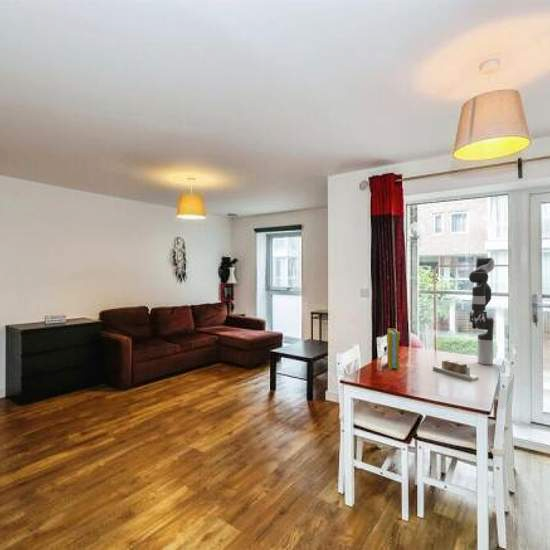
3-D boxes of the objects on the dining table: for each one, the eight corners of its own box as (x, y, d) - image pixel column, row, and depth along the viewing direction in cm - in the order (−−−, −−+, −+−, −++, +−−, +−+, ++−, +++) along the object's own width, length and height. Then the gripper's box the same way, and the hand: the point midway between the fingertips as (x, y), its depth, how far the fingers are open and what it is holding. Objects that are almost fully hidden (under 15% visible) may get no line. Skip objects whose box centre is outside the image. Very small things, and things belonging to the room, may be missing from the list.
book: (399, 369, 234) (399, 333, 233) (389, 369, 235) (389, 332, 235) (396, 362, 251) (396, 328, 250) (386, 362, 252) (386, 328, 251)
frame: (444, 370, 228) (444, 360, 228) (449, 368, 230) (449, 359, 230) (461, 375, 217) (462, 365, 217) (466, 373, 220) (466, 364, 220)
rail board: (440, 368, 237) (440, 358, 237) (478, 378, 214) (478, 368, 214) (432, 370, 233) (433, 360, 233) (470, 381, 210) (470, 370, 210)
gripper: (477, 304, 216) (477, 330, 217) (491, 302, 223) (490, 327, 224) (466, 303, 223) (465, 328, 224) (479, 301, 230) (479, 326, 230)
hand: (478, 328), depth 224 cm, fingers open, 8 cm apart
